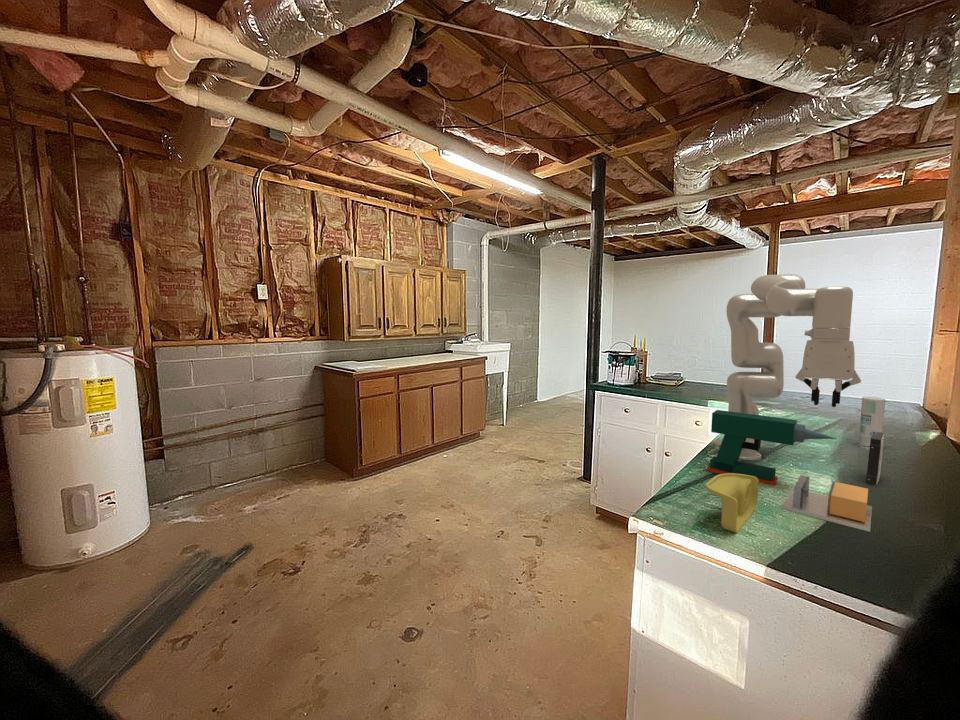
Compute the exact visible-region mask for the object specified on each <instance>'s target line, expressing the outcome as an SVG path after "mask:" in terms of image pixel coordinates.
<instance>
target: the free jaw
mask: <svg viewBox="0 0 960 720" xmlns="http://www.w3.org/2000/svg"><path fill="white" fill-rule="evenodd" d="M868 492H869V488H865V487H862V486H857V485H851V484H847V483H843V482H838V481H832V484H831V486H830V490H829V493H828V496H829V497H828V509H827V513H830V514H834V515H838V516H842V517H846V518H850V519H854V520H858V521H862V522H865V518H866V509H867V505H868V497H869V493H868Z"/></svg>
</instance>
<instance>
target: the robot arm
mask: <svg viewBox="0 0 960 720" xmlns="http://www.w3.org/2000/svg"><path fill="white" fill-rule="evenodd" d="M750 291H751V293H742V294H736V295H734V296H732V297H731V298H730V299H729V300H728V301H727V305H726V309H725V310H726V317H727V322H728V325H729V328H730V348H731V349H730V352H731V353H730V355H731V357H730V358H731V363H732V365H733V366H734V367H737V368H743V369H763V371H737V372H733V373H731V374H729V376H728V377H727V379H726V389H727V396H728V410H727V411H730V412H738V413H746V414H754V415H760V414H759V413H760V412H759V407H758V406H757V404H756V403H755V402H754V400H753V399H756V398H759V399H760V398H761V399H776V398H778V397H780V396H781V395H782V394H783V391H784V385H785V384H784V369H785V367H784V354H783V350H782V348H781V347H780V345H778V343H775V342H761V341H759V329H758V327H757V325H756V324H755V323H754V322H753V321H752V320H751V318H779V317H781V316H782V317H812V322H811V323H812V324H811V326H812V327H811V329H809V330H804V336H805V337H809V338H810V339H808V340H806V344H805V347H804V352H803V358H802V359H803V360H802V366H801V368H800V370H799V371H798V373H796V375H795V379H797V380H798V381H801V382H803V383H805V385H806V386H808V387H809V388H810V390H811V398H810V400H811V401H810V402H813V405H814V406H817V405H819V403H820V393H821V392H820V387H819V381H820V380H831V381H832V380H833V381H834V384H835V387H834V389H833V391H832V397H831V407H833V408H836V407H837V405H839V404H840V403H841V393H842V391H844V390H846V389H848V387H851V386H854V385H858V384H860V383H861V382H862V380H861V378H860V376H859V374H858V373H857V372H856V370H855V363H856V362H855V361H856V360H855V353H856V352H855V344H854V341H852V340H850V339H851V325H852V324H851V323H852V322H851V321H852V314H853V313H852V312H853V300H854V298H853V297H854V291H853V289H852V288H851V287H849V286H826V287H820V288H806V281H805V280H804V278H803V277H802V276H800V275H798V274H790V273H788V274H766V275H762V276H759V277H756V279H755V280H753V282H752V284H751V287H750ZM843 381H845V382H843ZM745 442H749V443H754V439H750V438H746V441H745ZM721 443H722V440H720V439H719V440H718V439H714V441H713V444H714V445H715V446H716V447H720V446H721ZM761 459H762V454H761V453H760V452H758V451H756V450H751V449H745V448H743V449H742V452H741V454H740V457H739V460H741V461H759V460H761Z"/></svg>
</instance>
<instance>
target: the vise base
mask: <svg viewBox="0 0 960 720" xmlns="http://www.w3.org/2000/svg"><path fill="white" fill-rule="evenodd" d="M810 480H811V479H810V476H807V475H803V474H800V476H799V478H798V479H797V481H796V482H795V485H794V486H793V488H791V489H790V491H789V493H788V495H786V498H785V499H784V502H783V503H782V506H781V510H784V511H788V512H792V513H796V514H799V515H804V516H807V517H811V518H815V519H818V520H823V521H826V522H830V523H834V524H839V525H842V526H846V527H849V528H853V529H857V530H861V531H865V532H869V533H870V532H871V525H872V513H873V505H868V504H867V509H866V518H865V522H862V521H858V520H854V519H850V518H846V517H842V516H838V515H834V514H830V513H827V509H828V497H829V495H825V494H821V493H815V492H812V491H810V489H809V488H810Z"/></svg>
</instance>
